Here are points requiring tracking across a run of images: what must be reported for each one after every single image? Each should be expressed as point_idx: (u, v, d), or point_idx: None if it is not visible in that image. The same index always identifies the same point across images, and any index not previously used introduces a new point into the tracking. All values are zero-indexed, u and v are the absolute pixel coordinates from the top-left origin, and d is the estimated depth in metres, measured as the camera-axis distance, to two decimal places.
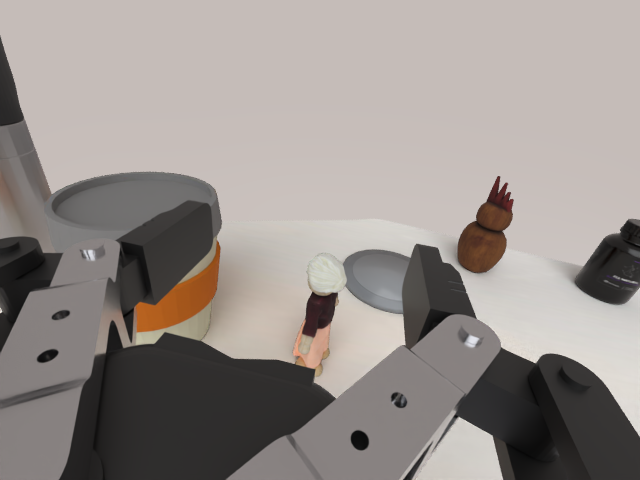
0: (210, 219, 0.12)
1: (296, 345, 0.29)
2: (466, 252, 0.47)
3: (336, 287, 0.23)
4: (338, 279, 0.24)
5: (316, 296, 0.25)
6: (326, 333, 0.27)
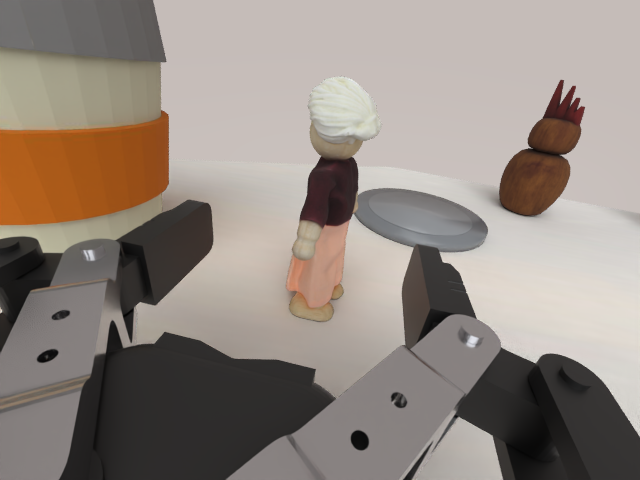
0: (210, 219, 0.12)
1: (291, 270, 0.18)
2: (515, 187, 0.36)
3: (364, 127, 0.12)
4: (368, 113, 0.12)
5: (325, 164, 0.14)
6: (341, 243, 0.16)
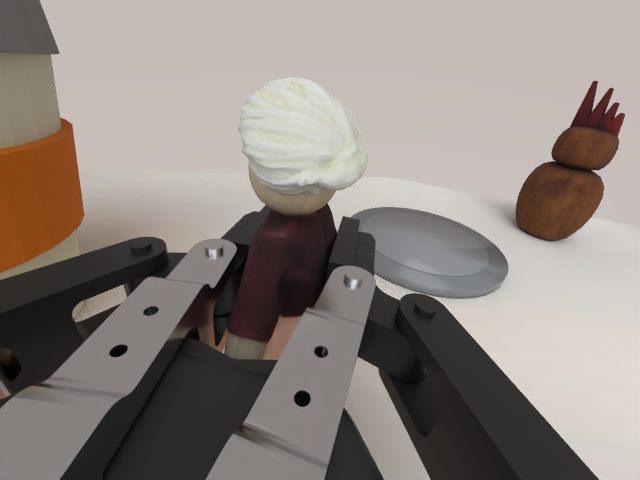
0: None
1: None
2: (536, 208, 0.30)
3: (336, 168, 0.07)
4: (343, 142, 0.07)
5: (278, 220, 0.09)
6: None
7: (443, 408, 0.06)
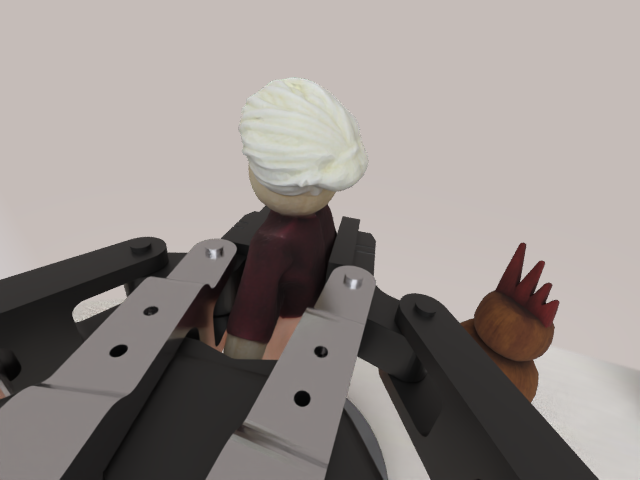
0: None
1: None
2: None
3: (337, 169, 0.07)
4: (343, 143, 0.07)
5: (277, 221, 0.09)
6: None
7: (443, 408, 0.06)
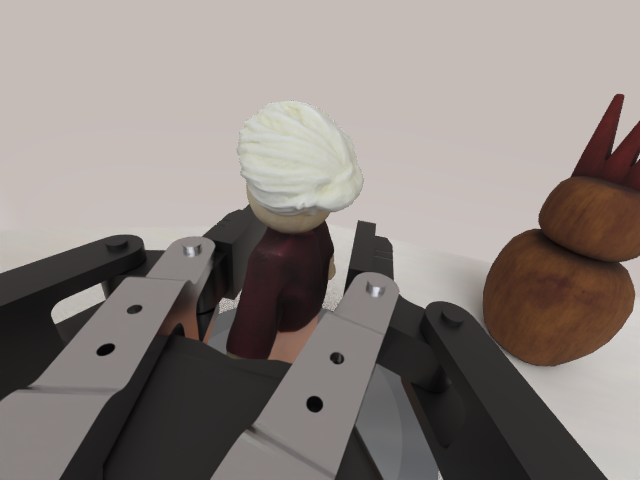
0: None
1: None
2: (512, 316, 0.17)
3: (333, 191, 0.07)
4: (339, 166, 0.07)
5: (275, 238, 0.09)
6: None
7: (466, 420, 0.06)
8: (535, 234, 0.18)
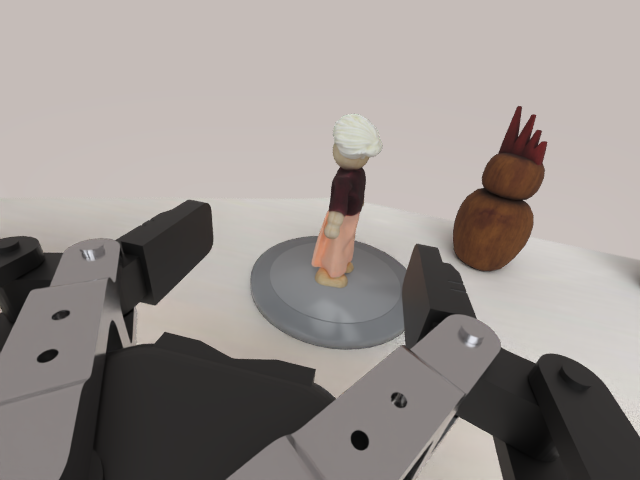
0: (210, 219, 0.12)
1: (316, 250, 0.24)
2: (466, 238, 0.29)
3: (372, 148, 0.19)
4: (374, 138, 0.19)
5: (344, 172, 0.20)
6: (354, 229, 0.22)
7: None
8: (481, 189, 0.29)
